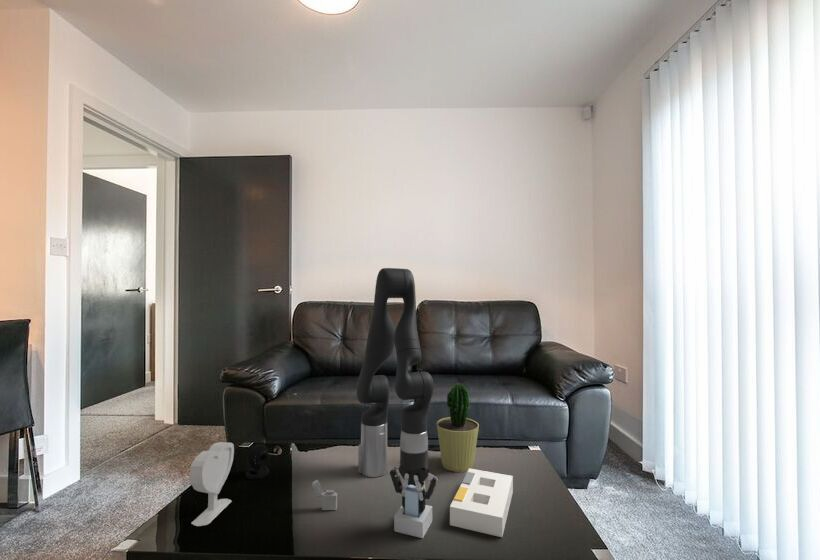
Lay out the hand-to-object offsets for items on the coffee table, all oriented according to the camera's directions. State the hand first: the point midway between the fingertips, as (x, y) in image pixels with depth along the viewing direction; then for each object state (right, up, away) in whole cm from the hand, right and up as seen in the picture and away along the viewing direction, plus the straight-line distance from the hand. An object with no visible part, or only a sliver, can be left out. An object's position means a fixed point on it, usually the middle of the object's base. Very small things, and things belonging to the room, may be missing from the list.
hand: (413, 510), depth 104 cm
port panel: (+21, -4, +9) cm, 23 cm away
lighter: (-26, -4, +8) cm, 27 cm away
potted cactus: (+16, -5, +36) cm, 40 cm away
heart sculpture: (-58, -4, +6) cm, 58 cm away
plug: (0, -4, 0) cm, 4 cm away
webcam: (-53, -5, +28) cm, 61 cm away
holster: (0, -4, 0) cm, 4 cm away
